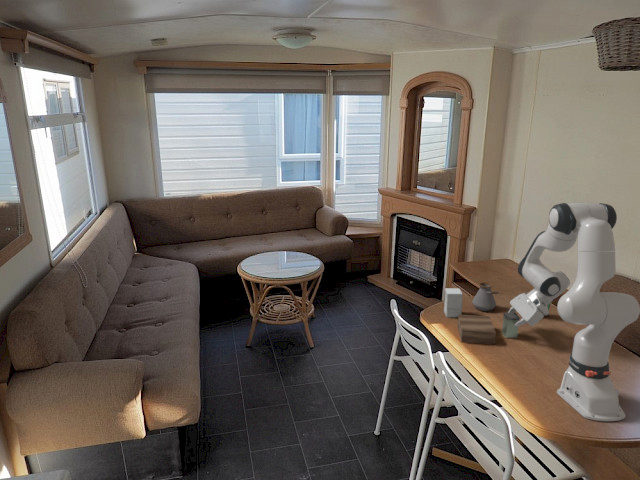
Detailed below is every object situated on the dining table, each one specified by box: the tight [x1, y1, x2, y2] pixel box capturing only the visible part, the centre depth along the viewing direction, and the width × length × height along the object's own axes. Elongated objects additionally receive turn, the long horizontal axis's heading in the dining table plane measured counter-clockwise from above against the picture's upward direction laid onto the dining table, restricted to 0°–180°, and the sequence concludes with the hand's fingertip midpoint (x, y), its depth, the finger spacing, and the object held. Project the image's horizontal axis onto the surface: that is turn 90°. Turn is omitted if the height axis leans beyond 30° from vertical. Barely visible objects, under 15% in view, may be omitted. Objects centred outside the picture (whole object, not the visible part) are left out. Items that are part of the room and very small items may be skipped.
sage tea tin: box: [501, 312, 521, 339], centre depth 209 cm, size 5×5×10 cm
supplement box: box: [443, 287, 464, 318], centre depth 230 cm, size 7×7×13 cm
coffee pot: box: [472, 282, 501, 312], centre depth 231 cm, size 21×12×15 cm, turn 2°
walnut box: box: [457, 314, 497, 345], centre depth 211 cm, size 16×14×6 cm
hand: (511, 320), depth 208 cm, fingers open, 8 cm apart
